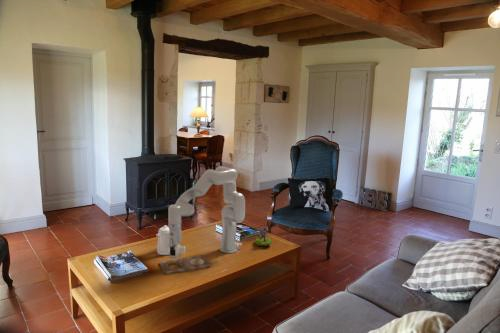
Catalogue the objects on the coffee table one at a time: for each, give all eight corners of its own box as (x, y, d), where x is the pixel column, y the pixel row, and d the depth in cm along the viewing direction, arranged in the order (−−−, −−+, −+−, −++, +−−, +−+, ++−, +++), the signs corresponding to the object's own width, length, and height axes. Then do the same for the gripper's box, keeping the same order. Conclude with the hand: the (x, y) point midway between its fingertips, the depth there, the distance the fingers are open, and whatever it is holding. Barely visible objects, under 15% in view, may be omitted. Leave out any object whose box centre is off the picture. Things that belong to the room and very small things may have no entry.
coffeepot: (148, 259, 230) (148, 231, 227) (165, 244, 254) (165, 219, 251) (164, 261, 228) (164, 233, 225) (179, 246, 252) (180, 220, 249)
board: (202, 256, 237) (202, 255, 237) (210, 267, 223) (210, 265, 223) (159, 263, 225) (159, 261, 225) (165, 274, 211) (165, 272, 211)
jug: (166, 257, 218) (166, 245, 216) (170, 253, 224) (170, 241, 223) (183, 259, 216) (183, 247, 215) (186, 254, 223) (186, 243, 221)
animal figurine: (250, 243, 263) (251, 224, 260) (262, 240, 271) (263, 221, 269) (263, 250, 253) (264, 229, 250) (276, 246, 261) (277, 226, 259)
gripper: (175, 230, 208) (175, 259, 211) (185, 220, 224) (185, 247, 228) (163, 229, 209) (163, 258, 212) (174, 219, 226) (174, 246, 229)
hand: (175, 252), depth 220 cm, fingers closed on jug, 6 cm apart
